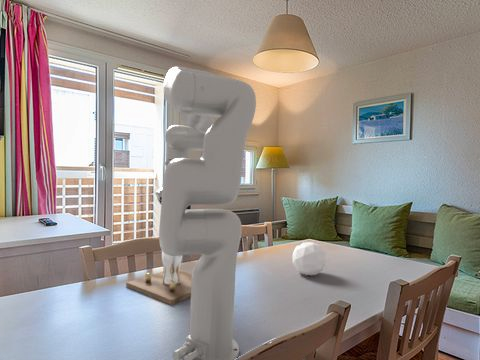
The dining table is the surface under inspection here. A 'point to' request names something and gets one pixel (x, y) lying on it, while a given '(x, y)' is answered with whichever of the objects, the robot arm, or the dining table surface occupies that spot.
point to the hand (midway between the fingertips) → (176, 215)
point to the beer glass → (171, 268)
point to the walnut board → (163, 287)
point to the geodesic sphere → (308, 258)
